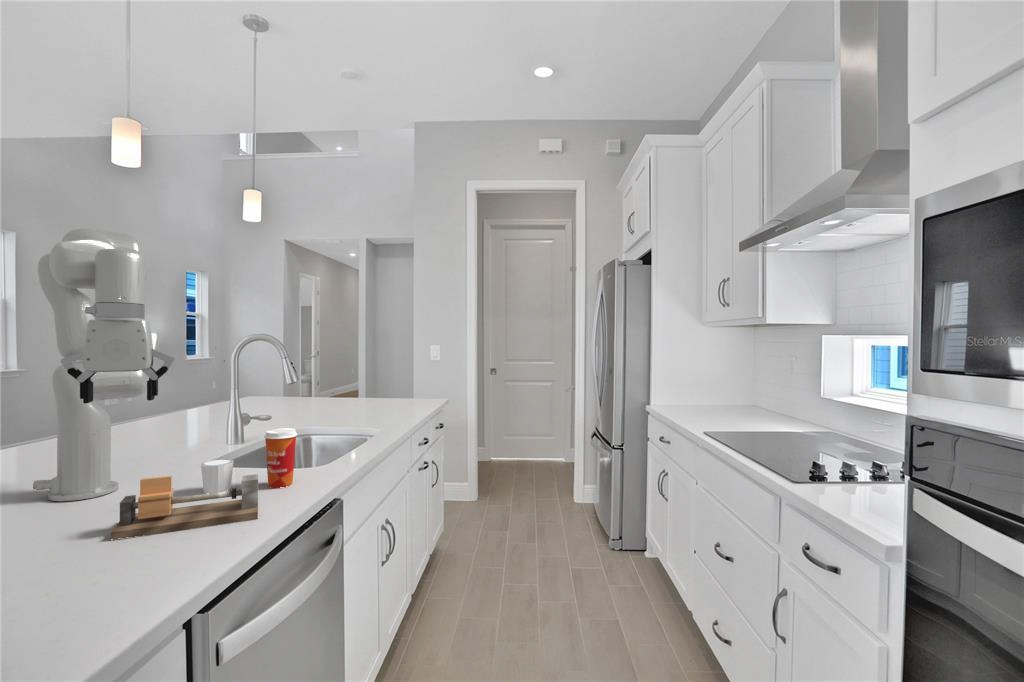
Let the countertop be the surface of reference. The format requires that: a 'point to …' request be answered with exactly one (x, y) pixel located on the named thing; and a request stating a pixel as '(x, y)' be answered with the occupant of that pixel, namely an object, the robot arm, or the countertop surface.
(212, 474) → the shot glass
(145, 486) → the orange sliding block
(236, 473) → the countertop surface
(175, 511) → the wooden slider rail
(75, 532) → the countertop surface
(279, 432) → the paper cup
